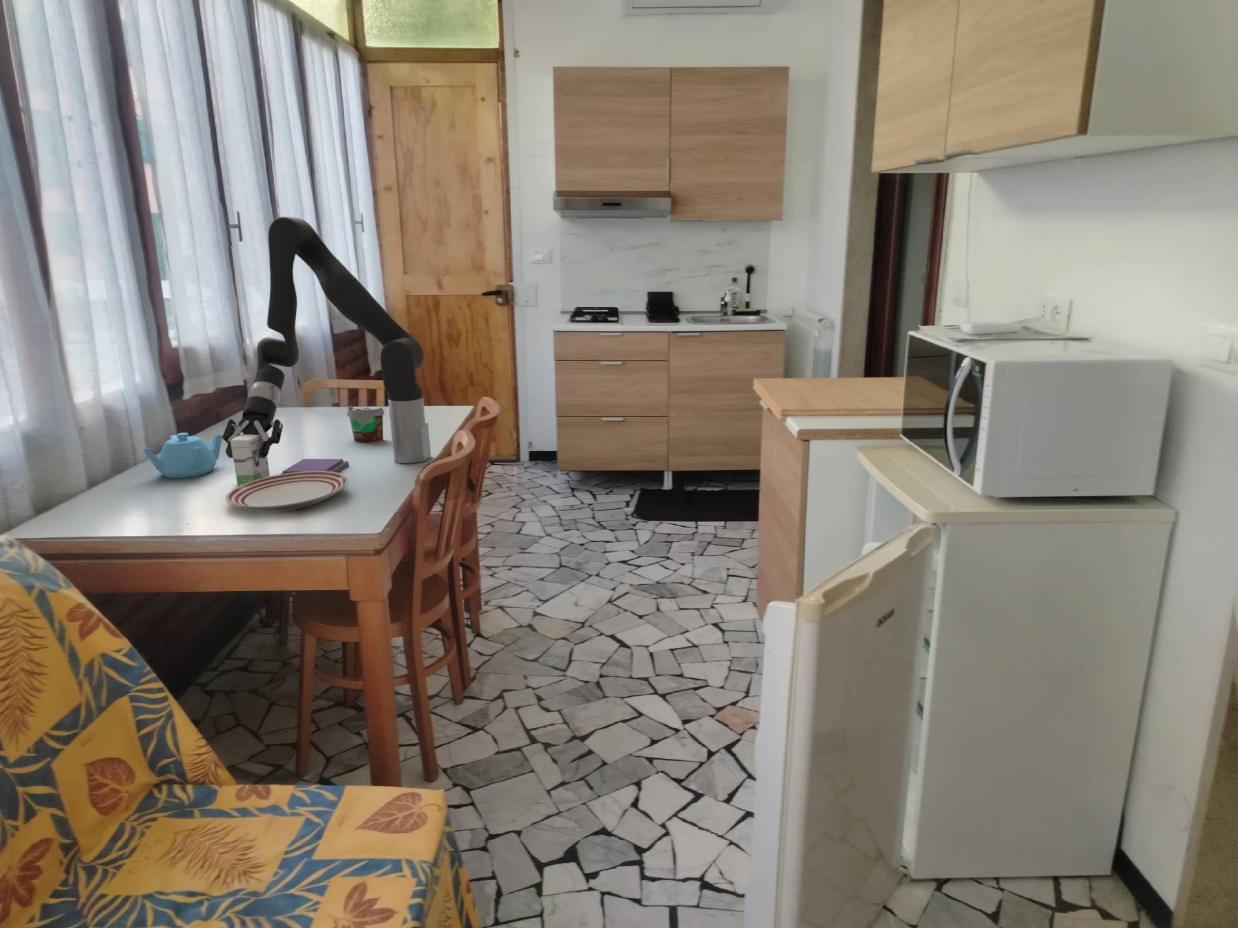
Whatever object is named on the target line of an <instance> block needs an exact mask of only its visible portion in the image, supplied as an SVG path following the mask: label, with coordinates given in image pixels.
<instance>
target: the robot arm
mask: <svg viewBox="0 0 1238 928" xmlns="http://www.w3.org/2000/svg"><path fill="white" fill-rule="evenodd" d="M267 232H268V233H267V235H268V236H267V238H268V239H267V242H268V243H267V244H268V255H269V257H268V258H269V278H270V279H269V280H270V281H269V288H270V289H269V299H268V300H269V301H268V309H267V320H266V321H267V322H266V325H267V326H266V327H268V328H269V329H270V330H273V331H274V332H277V333H279V334H281V335H282V336H283V338H284V340H283V339H279V338H273V337H264V338H262V339H261V340H259V342H258V344H257V346H256V355H257V356H256V357H257V358H256V359H257V368H256V374H255V376H254V379H253V383H252V386H251V388H250V389H249V391H248V395H247V397H246V401H245V404H244V407H243V411H242V418H241V420H239V421H236V420H235V421H234V419H233V418H231V419H229V420H228V422H227V423H226V426H225V429H224V431H223V434H222V440H223V441H225V443H226V444H227V445H226V450H225V454H226V456H227V457H228V458H229V459H233V454H232V448H231V440H232V439H234V438H236V437H238V436H240V435H241V433H242V434H253V435H259V434H260V435H261V436H262V438H263V440H264V442H262V444H261V447H260V451H259V456H260V457H261V458H265V457H266V456H267V457H268V455H269V452H270V448H271V446H272V445H275V444H276V445H278V444H279V443H280V441H281V438H282V433H283V428H284V424H283V423H282V422H281V420H279V419H275V417H276V416H275V415H276V412H277V409H278V406H279V401H280V399H281V398H280V397H281V392H282V388H283V386H284V383H285V378H286V377H285V373H284V372H283V370H281V369H280V368H278V367H277V366H280V367H284V368H285V367H286V368H293V367H294V366H295V365H296V364H297V362H299V361H298V360H299V356H300V354H299V353H300V352H299V346H298V341H297V334H296V318H297V311H298V310H297V309H298V296H297V291H296V290H297V289H296V285H295V281H294V279H295V278H294V262H295V259H296V256H297V257H298V258H299V259H301V260H302V261H303V262H304V263H305V264H306V265H307V266H308V267H309V268H310V269H311V271H312V272H313V273H314V275H315V276H316V278H317V280H318V283H319V285H320V287H321V289H322V290H321V291H322V292H323V293H324V295H325V297H326V298H327V300H328V301H329V302H330V303H331V304H332V305H333V306H334V307H335V309H337V310H338V311H339V313H340V314H341V315H342V316H343V317H344V318H345V319H347V320H348V321H350V322H351V323H353V325H354V324H355V325H356V326H358V327H359V328H361V329H363V330H364V331H366V332H368V333H369V334H370V335H371V336H373V337H374V338H375V339H376V341H378V342H379V343H380V344H381V346H382V348H381V350H380V357H379V358H380V369H381V375H382V382H383V387H384V390H385V392H386V394H387V399H388V401H387V402H388V408H389V409H388V411H389V420H390V430H391V431H390V432H391V441H392V450H393V459H394V462H395V463H398V464H415V463H424V462H426V461H427V460H428V459H429V458H430V457H431V456H432V454H431V453H432V451H431V444H430V431H429V423H428V422H426V417H425V416H426V415H425V414H426V413H425V404H424V393H423V387H422V386H421V385H419V384H418V383H417V378H416V369H418V368H419V367H420V366H422V364H423V363H424V360H425V359H424V357H425V355H424V354H425V353H424V351H423V348H422V346H421V344H420V343H419V342H418V341H417V340H416V339H415V338H414V337H413V336H412V335H411V334H409V332H407V331H406V330H405V329H404V328H403V327H402V326H400V325H399V324H398V323H397V322H396V321H395V320H394V319H393V318H392V317H391V316H390V315H389V313H388V312H387V311H386V310H385V309H384V307H382V305H381V304H380V303H379V302H378V301H377V300H376V299H375V298H374V297H373V295H371V292H369V291H368V289H366V287H365V286H364V285H363V284H362V283H361V282H360V281H359V280H358V279H357V278H356V276H354V275H353V274H352V273H351V272H350V270H349V269H348V268H347V267H346V266H345V265H344V264H343V263H342V262H341V261H340V260H339V259H338V258H337V257H336V256H335V255H334V254H333V252H332V251H330V249H329V248H328V246H327V245H326V243H324V241H323V240H322V238H321V237H320V236H319V235H318V233H317V231H316V230H315V229H314V228H313V227H312V225H311V224H310V223H309V222H307V221H306V220H305V219H303V218H300V217H292V216H279V217H276V218H275V219H273V220H272V221H271V223H270V224H269V226H268V231H267ZM274 419H275V420H274ZM271 429H272V431H271V436H270V435H269V434H268V431H269V430H271Z"/></svg>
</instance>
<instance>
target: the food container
mask: <svg viewBox="0 0 1238 928" xmlns="http://www.w3.org/2000/svg"><path fill="white" fill-rule="evenodd" d="M383 415H385V412H384V409H383V407H380V408H375V409H373V408H366V407H364V408H354V407H353V405H350V406H348V407H347V410H346V416H347V417H349V422H350V426H351V431H352V436H353V440H354V442H356V443H362V444H363V443H364V444H365V443H374V442H380V441H383V440H384V416H383Z"/></svg>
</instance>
